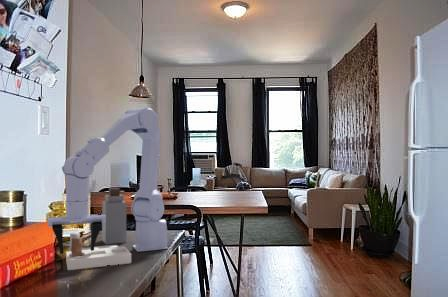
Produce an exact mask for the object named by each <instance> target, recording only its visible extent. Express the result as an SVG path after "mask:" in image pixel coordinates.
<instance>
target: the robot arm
mask: <svg viewBox="0 0 448 297" xmlns="http://www.w3.org/2000/svg"><path fill="white" fill-rule="evenodd" d="M159 119H160V118H159V115H158V114H157V112H155V111H154V108H151V107H143V108H137V109H129V110H126V111H125V112H124V113H123V114H121V115H120V116H119V118H118V119H117V120H116V121H115V122H114V123H113V124H112V125H111V126H110V128H109V129H108V130H107V131H106V132H105V133H104V134H102V136H101V137H97V136H96V137H93V138H89V139H88V140H87V142H86V145H85V146H83V147H82V148H81V149H79V150H77V151H76V152H75V156H69V157H68V158H67V159H65V161H64V164H63V166H61V170H62V173H63V174H64V176H65V179H66V180H65V185H66V188H65V189H66V190H65V192H66V194H65V197H66V199H65V216H61V217H60V216H59V217H51V218H50V217H49V218H47V227H52V231H53V234H54V236H55V238H56V240H57V244H58V247H59V253H60V254H61V255H62V254H64V242H63V237H64V236H63V235H64V234H63V233H64V232H63V231H64V228H63V226H71V225H73V226H74V225H87V224H90V244H89V247H90V249H91V251H94V247H96V246H95V245H96V241H97V238H98V236H99V234H100V231H102V223H106V216H105V215H102V214H98V215H97V214H96V215H95V214H94V215H93V214H92V215H91V214H90V212H89V211H90V208H89V207H90V206H89V205H90V200H89V199H90V198H89V196H90V176H91V175H92V174H93V172H94V169H95V166H96V165H97V164H98V163H99V162H100V161H101V160H102V159H104V157H105V156H107V155H108V154H109V152H110V146H111V145H112V144H113V143H114V142H116V141H117V140H118V139H119V138H120V137H121V136H123V135H124V134H126V133H127V131H131V132H133V133H135V134H136V135H138V137H139V138H140V139H141V140H142V143H141V144H142V146H141V148H142V149H141V160H140V163H141V164H140V175H139V176H140V178H139V189H138V190H137V191H136V192H135V193H134V197H133V201H132V203H131V206H130V210H131V214H132V215H133V216H134V220H135V244H132V248H133V249H134V250H135V251H136V252H138V253H139V252H148V251H158V250H168V226H167V221H166V219H163V218H162V217H163V215H164V213H165V205H164V202H163V199H164V198H163V195H162V194H161V193H160V191H159V190H158V181H159V163H160V150H161V149H160V148H161V147H160V146H161V133H160V127H159ZM89 214H90V215H89ZM161 218H162V219H161Z"/></svg>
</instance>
